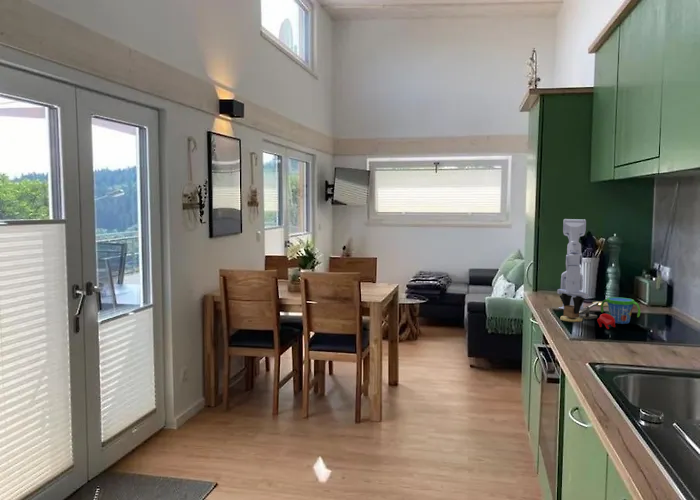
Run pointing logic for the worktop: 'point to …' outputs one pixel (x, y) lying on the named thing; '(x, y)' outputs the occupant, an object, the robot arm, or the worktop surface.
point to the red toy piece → (606, 320)
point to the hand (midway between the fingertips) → (571, 312)
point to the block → (570, 311)
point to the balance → (584, 316)
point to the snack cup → (620, 309)
